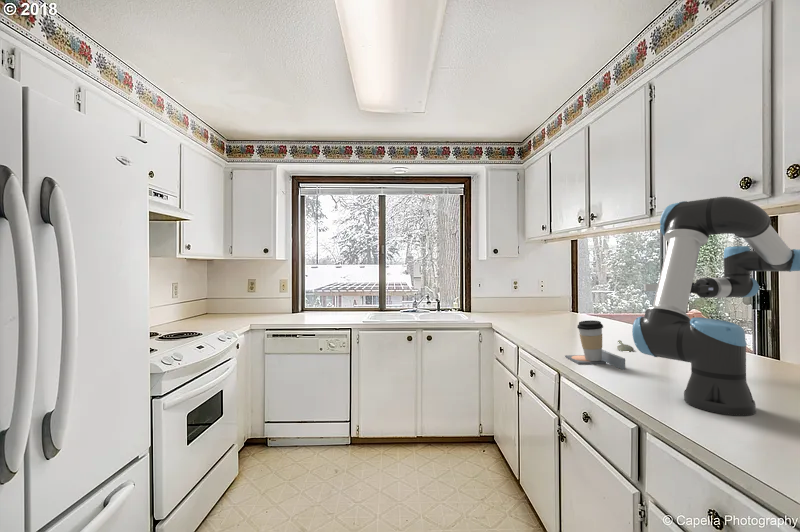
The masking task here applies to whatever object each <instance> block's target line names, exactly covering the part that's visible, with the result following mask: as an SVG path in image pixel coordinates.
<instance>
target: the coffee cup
mask: <svg viewBox="0 0 800 532" xmlns="http://www.w3.org/2000/svg"><path fill="white" fill-rule="evenodd" d="M577 329H578V331H579V332H578V333H579V338H580V343H581V348H582V350H583V355H585V359H586V360H588V361H600V360H602V350H603V329H604V325H603V324H602V323H601V321H599V320H581V321H579V322H578V324H577Z"/></svg>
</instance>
